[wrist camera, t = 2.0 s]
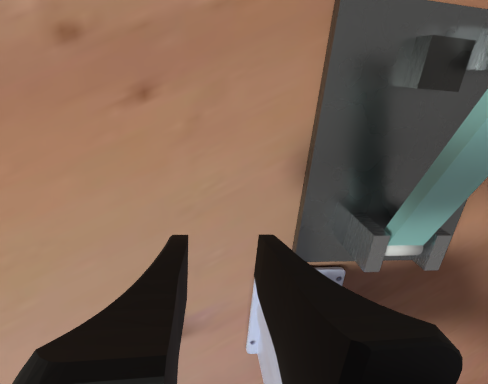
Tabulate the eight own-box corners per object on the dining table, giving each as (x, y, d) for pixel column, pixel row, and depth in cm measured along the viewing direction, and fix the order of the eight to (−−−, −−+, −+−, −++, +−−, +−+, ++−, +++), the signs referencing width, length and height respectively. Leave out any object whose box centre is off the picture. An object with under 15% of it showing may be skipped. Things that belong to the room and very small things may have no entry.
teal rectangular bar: (405, 242, 24) (415, 259, 23) (369, 242, 23) (378, 260, 22) (571, 48, 13) (605, 62, 12) (514, 40, 13) (545, 54, 12)
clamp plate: (436, 254, 27) (490, 296, 22) (291, 256, 25) (314, 304, 20) (528, 19, 20) (637, 3, 15) (336, -9, 18) (391, -40, 13)
